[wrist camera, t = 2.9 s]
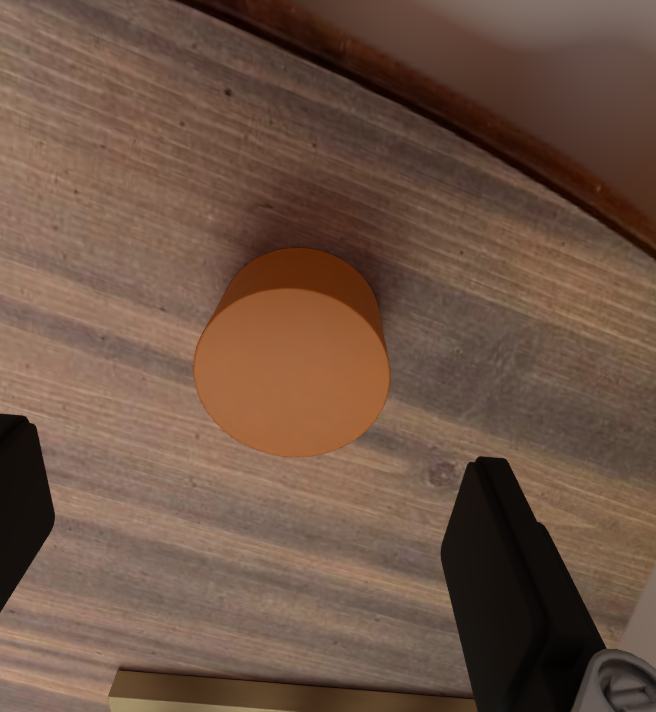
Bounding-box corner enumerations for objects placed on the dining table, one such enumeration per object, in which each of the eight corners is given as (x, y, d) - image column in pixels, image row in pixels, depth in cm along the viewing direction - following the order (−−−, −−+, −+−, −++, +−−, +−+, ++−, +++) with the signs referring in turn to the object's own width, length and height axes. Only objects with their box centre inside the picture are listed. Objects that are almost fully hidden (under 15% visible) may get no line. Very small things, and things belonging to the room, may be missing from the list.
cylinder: (393, 257, 17) (407, 300, 14) (367, 400, 20) (373, 466, 16) (221, 237, 17) (190, 276, 13) (220, 384, 20) (194, 448, 16)
